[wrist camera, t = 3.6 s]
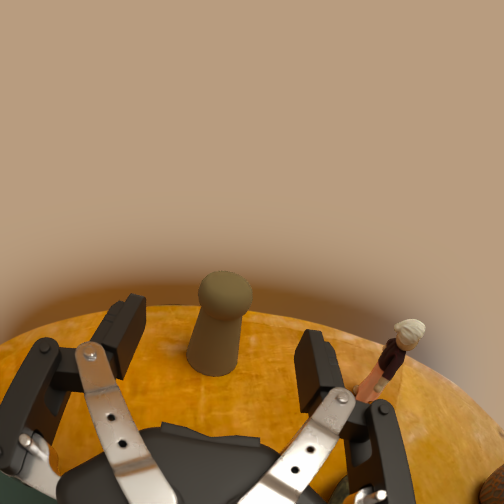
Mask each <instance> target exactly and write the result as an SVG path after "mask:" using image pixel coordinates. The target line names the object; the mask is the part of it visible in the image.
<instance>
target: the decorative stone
mask: <svg viewBox="0 0 504 504" xmlns="http://www.w3.org/2000/svg"><path fill="white" fill-rule="evenodd" d="M349 495H350V493H349V482H348V475H346V476H345V477H344V478H343V479H342V480H341V481H340V482H339V484H338V485H337V487H336V489H335V490H334V492H333V494H332V496H331V498H330V500H329V502H328V504H343V501H344V500H345V498H346V497H347V496H349Z"/></svg>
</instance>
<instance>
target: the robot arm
mask: <svg viewBox="0 0 504 504" xmlns="http://www.w3.org/2000/svg"><path fill="white" fill-rule="evenodd" d="M145 325H146V298H145V297H144V296H140V295H136V294H132V293H131V294H130V295H129V297H128V298H127V300H126V301H125V302H123V301H118V302H117V303H115V304H114V305H112V306H111V308H110V309H109V311H108V312H107V314H106V315H105V317H104V319H103V320H102V322H101V323H100V325H99V327H98V328H97V330H96V331H95V333H94V335H93V336H92V338H91V340H90V341H89V342H84V343H82V344H80V345H79V346H78V347H77V348H63V347H59V345H58V343H57V342H56V341H55V340H54V339H52V338H48V337H45V338H41V339H39V340H37V341H36V342H35V343H34V345H33V346H32V348H31V350H30V351H29V353H28V354H27V356H26V358H25V360H24V361H23V363H22V365H21V366H20V368H19V370H18V372H17V374H16V375H15V377H14V379H13V381H12V383H11V385H10V387H9V389H8V390H7V392H6V394H5V396H4V398H3V401H2V403H1V405H0V471H1V472H3V473H4V474H5V475H7V476H9V477H10V478H12V479H13V480H15V481H17V482H19V483H22V484H23V485H25V486H27V487H30V488H35V489H36V490H38V491H40V492H42V493H44V494H46V495H48V496H50V497H52V498H54V499H56V500H57V503H58V504H328V503H327V502H325V501H324V500H323V499H322V498H321V497H320V496H319V495H318V494H317V493H316V492H315V491H314V490H313V489H312V488H311V487H310V486H309V485H308V484H309V483H310V482H311V480H312V479H313V478H314V476H315V475H316V473H317V472H318V470H319V469H320V468H321V466H322V465H323V463H324V462H325V460H326V459H327V457H328V456H329V454H330V452H331V451H332V449H333V448H334V446H335V445H336V443H337V441H338V439H339V438H341V439H344V447H345V455H346V463H347V473H348V482H349V493H350V495H349V496H347V497H346V498H345V500H344V501H343V504H416V501H415V495H414V490H413V484H412V479H411V474H410V470H409V465H408V460H407V456H406V452H405V448H404V444H403V440H402V436H401V432H400V428H399V425H398V421H397V417H396V414H395V410H394V408H393V406H392V405H391V404H390V403H389V402H388V401H386V400H383V399H377V400H375V401H373V402H372V404H368V403H364V402H361V401H358V400H355V397H354V395H353V394H352V393H351V392H350V391H349V390H347V389H345V387H344V383H343V379H342V375H341V372H340V368H339V365H338V361H337V359H336V358H337V357H336V354H335V350H334V348H333V347H332V346H331V344H330V343H329V342H325V341H324V339H323V335H322V332H321V331H317V330H310V329H306V330H305V332H304V334H303V336H302V338H301V340H300V342H299V344H298V346H297V348H296V350H295V355H294V364H295V371H296V379H297V387H298V395H299V403H300V412H301V413H308V415H309V418H308V419H307V420H306V422H305V423H304V424H303V426H302V427H301V428H300V430H299V431H298V432H297V433H296V435H295V436H294V437H293V438H292V439H291V441H290V442H289V443H288V444H287V445H286V447H285V448H284V449H283V450H282V451H281V452H280V453H278V452H276V451H275V450H273V449H272V448H270V447H268V446H265V445H263V444H260V438H258V437H247V436H238V435H234V436H223V437H209V436H206V435H203V434H201V433H199V432H196V431H194V430H191V429H189V428H187V427H183V426H179V425H174V424H170V423H166V422H162V424H161V427H152V428H146V429H142V430H139V431H138V429H137V427H136V425H135V423H134V421H133V419H132V417H131V415H130V412H129V410H128V408H127V406H126V403H125V401H124V399H123V396H122V394H121V391H120V389H119V387H118V386H117V384H116V381H115V380H116V378H117V379H120V380H123V379H124V377H125V374H126V372H127V369H128V367H129V364H130V362H131V360H132V357H133V355H134V353H135V350H136V348H137V346H138V343H139V341H140V339H141V337H142V334H143V332H144V329H145ZM71 392H82V393H84V396H85V400H86V403H87V406H88V409H89V412H90V415H91V418H92V421H93V424H94V427H95V429H96V432H97V435H98V437H99V440H100V442H101V445H102V447H103V449H104V452H102V453H100V454H98V455H97V456H95V457H93V458H91V459H90V460H88V461H86V462H84V463H82V464H80V465H79V466H77V467H75V468H73V469H71V470H69V471H67V472H66V473H64V474H63V475H62V476H61V475H60V473H59V470H58V455H57V453H56V451H55V450H54V449H53V448H52V447H51V446H52V443H53V440H54V437H55V434H56V431H57V429H58V426H59V423H60V420H61V418H62V415H63V412H64V410H65V407H66V404H67V402H68V399H69V397H70V394H71Z"/></svg>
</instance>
